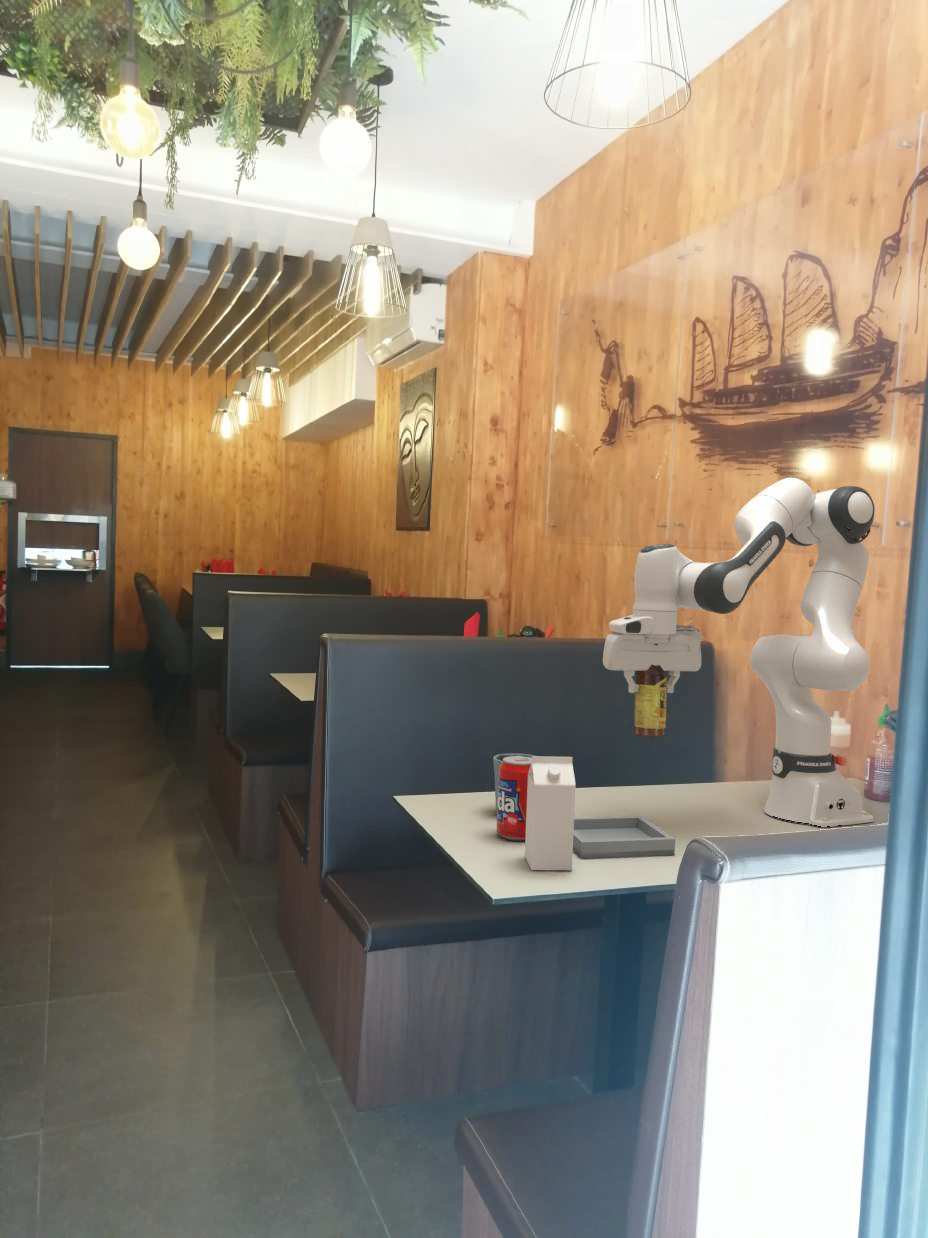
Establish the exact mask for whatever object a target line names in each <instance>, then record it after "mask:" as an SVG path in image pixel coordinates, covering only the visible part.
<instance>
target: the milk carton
mask: <svg viewBox="0 0 928 1238" xmlns="http://www.w3.org/2000/svg"><path fill="white" fill-rule="evenodd" d="M573 758H574V757H573V756H537V755H535V756H532V763H531V766H530V770H529V773H528V788H527V812H526V836H525V842H524V857H525V860H526V862H527V864H528V866H529V868H530V870H531V871H572V870H573V855H574V854H573V853H574V851H573V832H574V818H575V806H576V805H575V804H576V788H577V787H576V778H575V772H574V766H573Z"/></svg>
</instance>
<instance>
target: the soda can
mask: <svg viewBox="0 0 928 1238" xmlns="http://www.w3.org/2000/svg"><path fill="white" fill-rule="evenodd" d="M531 763H532V758H530V757H523V756H510V757H505V758H503V762H502V764H501V765H500V766H499V779H498V804H497V815H496V832H497V834H498V835H499V836H500V837H502V838H504V839H506V840H508V841H513V840H514V842H522V841H523V842H524V841H525V836H526V812H527V788H528V773H529V770H530V766H531Z"/></svg>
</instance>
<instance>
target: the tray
mask: <svg viewBox="0 0 928 1238" xmlns="http://www.w3.org/2000/svg"><path fill="white" fill-rule="evenodd" d="M675 848H676V838H674V837H673V836H672V835H670V834H669V833H668V832H666V831H664V830H662V829H661V828H660V827H658V826H657V825H655V824H654V823H652V822H651V821H650V820H648V819H647V818H645V817H644V816H642V815H628V816H625V815H624V816H623V815H621V816H593V817H592V816H591V817H590V816H589V817H574V832H573V853H575V854H576V855H577V856H578V857H579V858H580V859H581V860H585V859H605V858H606V859H607V858H608V859H610V858H611V859H612V858H613V859H614V858H633V857H634V858H636V857H658V856H659V857H661V856H675V855H676V854H675Z"/></svg>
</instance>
